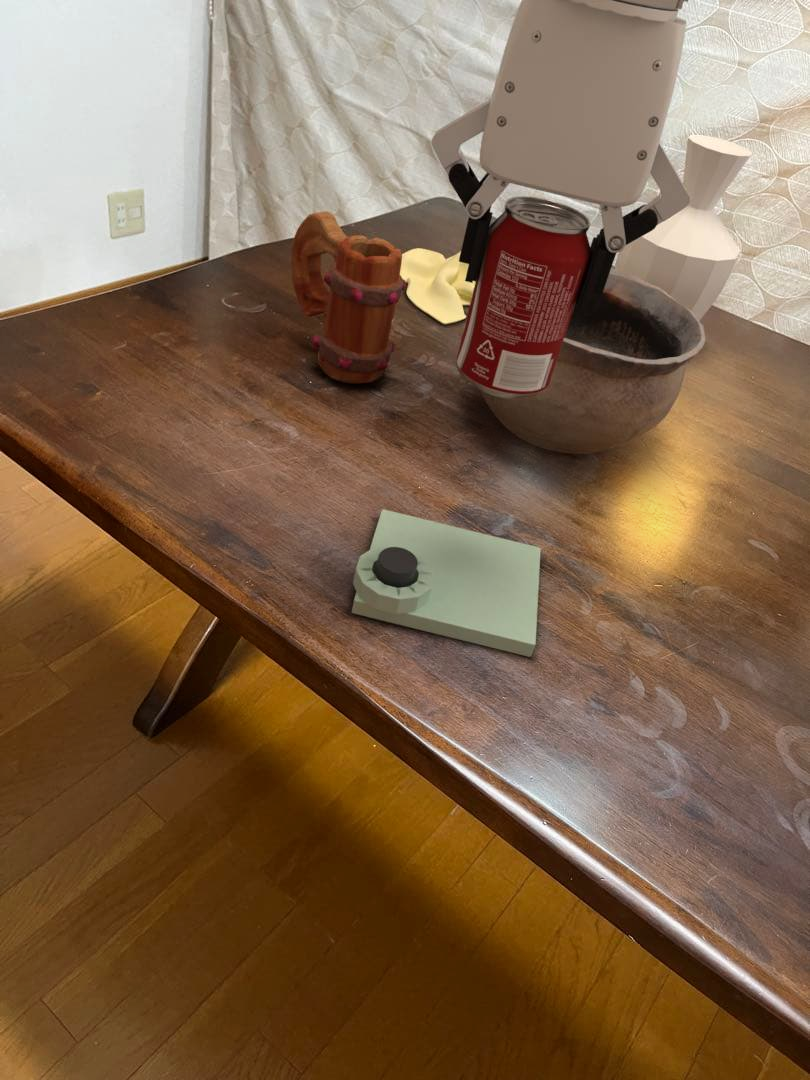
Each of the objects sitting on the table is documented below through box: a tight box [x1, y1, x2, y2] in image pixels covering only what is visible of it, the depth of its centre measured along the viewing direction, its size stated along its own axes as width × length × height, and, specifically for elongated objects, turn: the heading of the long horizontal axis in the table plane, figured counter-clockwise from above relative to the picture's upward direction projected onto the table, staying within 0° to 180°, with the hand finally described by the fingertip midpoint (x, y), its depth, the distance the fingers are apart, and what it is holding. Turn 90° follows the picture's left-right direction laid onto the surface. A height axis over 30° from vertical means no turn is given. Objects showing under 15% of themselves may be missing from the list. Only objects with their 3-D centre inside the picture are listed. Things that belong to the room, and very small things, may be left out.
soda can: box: [455, 196, 591, 398], centre depth 58 cm, size 7×7×12 cm
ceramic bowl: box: [479, 267, 707, 455], centre depth 88 cm, size 22×22×15 cm
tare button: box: [375, 547, 418, 588], centre depth 65 cm, size 3×3×2 cm
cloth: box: [400, 247, 476, 325], centre depth 115 cm, size 22×19×6 cm
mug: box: [290, 211, 407, 385], centre depth 91 cm, size 15×8×15 cm, turn 47°
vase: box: [614, 134, 753, 322], centre depth 108 cm, size 14×14×25 cm
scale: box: [351, 508, 542, 658], centre depth 69 cm, size 14×12×3 cm
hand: (527, 286), depth 57 cm, fingers closed on soda can, 6 cm apart
